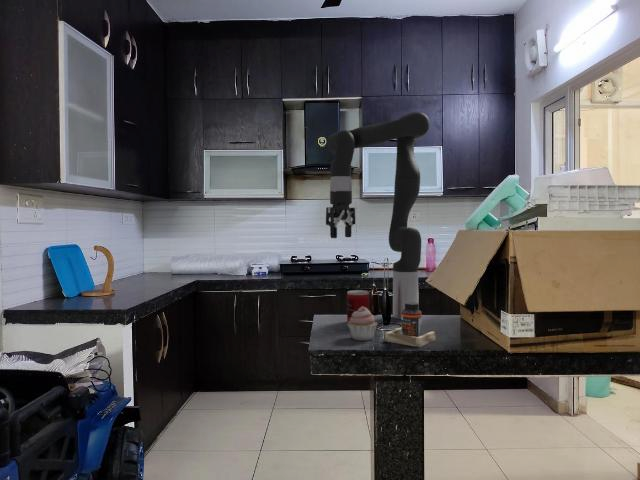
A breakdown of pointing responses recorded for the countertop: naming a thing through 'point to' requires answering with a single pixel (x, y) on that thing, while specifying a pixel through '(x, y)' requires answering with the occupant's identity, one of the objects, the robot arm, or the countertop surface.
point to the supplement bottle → (411, 320)
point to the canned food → (356, 301)
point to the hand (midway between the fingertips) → (341, 237)
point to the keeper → (409, 338)
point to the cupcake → (362, 325)
